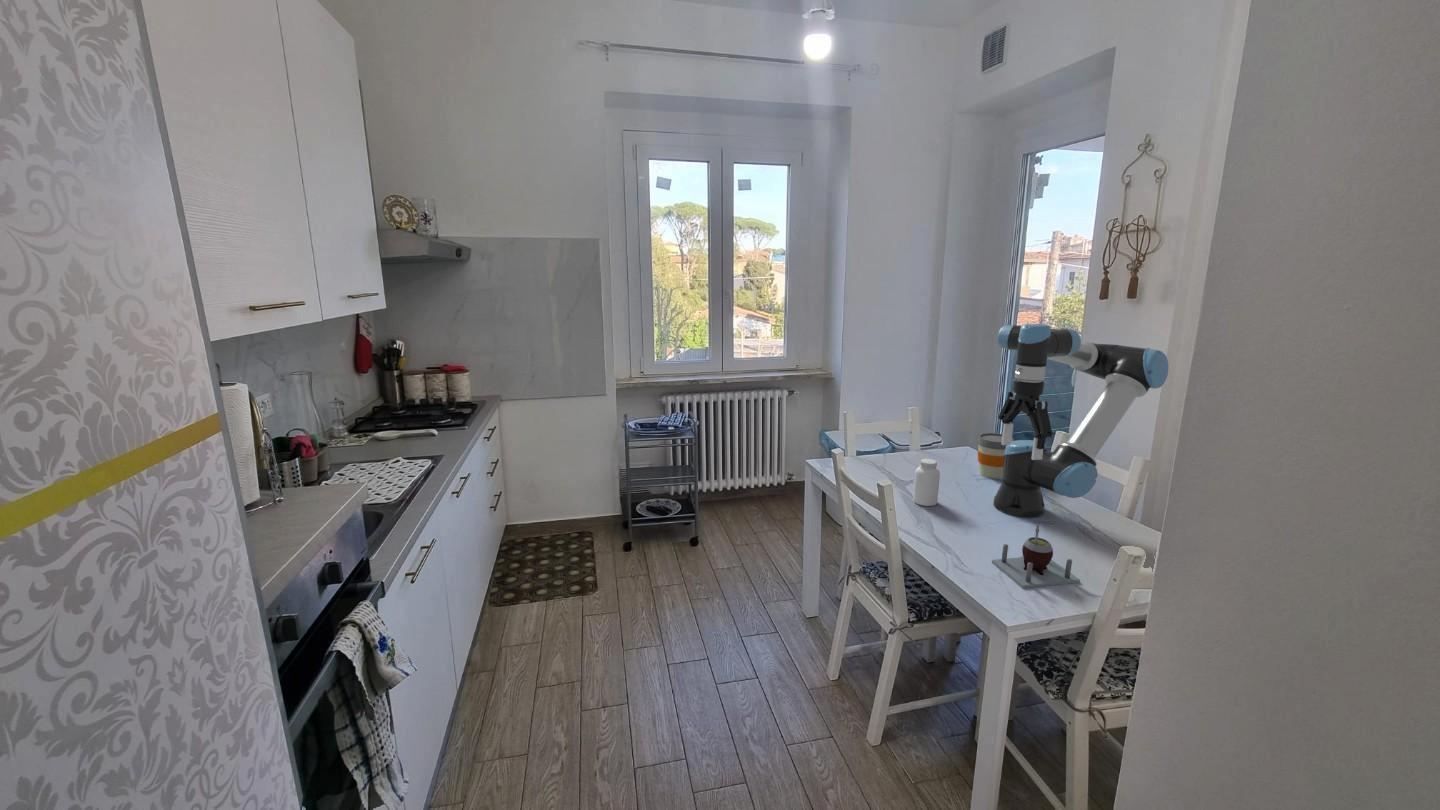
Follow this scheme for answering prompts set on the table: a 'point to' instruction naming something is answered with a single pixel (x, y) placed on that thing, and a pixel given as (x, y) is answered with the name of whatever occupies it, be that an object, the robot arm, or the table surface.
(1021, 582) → the tray
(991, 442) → the reusable coffee cup
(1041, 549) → the mate gourd
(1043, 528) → the table surface
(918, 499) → the pill bottle
